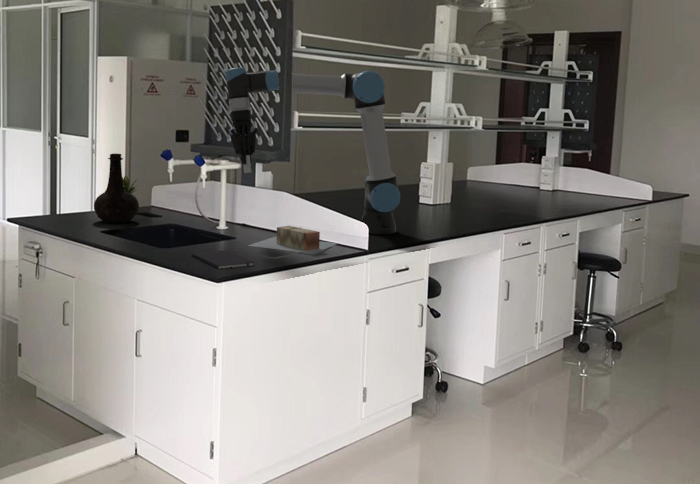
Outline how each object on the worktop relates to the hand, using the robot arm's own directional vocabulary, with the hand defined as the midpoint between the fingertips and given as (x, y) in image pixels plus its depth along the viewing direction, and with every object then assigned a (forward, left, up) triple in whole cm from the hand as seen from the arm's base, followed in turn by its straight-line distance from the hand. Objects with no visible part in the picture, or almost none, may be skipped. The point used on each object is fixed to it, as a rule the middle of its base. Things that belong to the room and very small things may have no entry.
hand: (247, 172), depth 296 cm
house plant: (-29, -81, -25) cm, 89 cm away
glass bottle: (+1, -61, -25) cm, 66 cm away
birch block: (+7, +19, -21) cm, 29 cm away
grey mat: (+8, +24, -24) cm, 35 cm away
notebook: (+43, +16, -25) cm, 53 cm away
